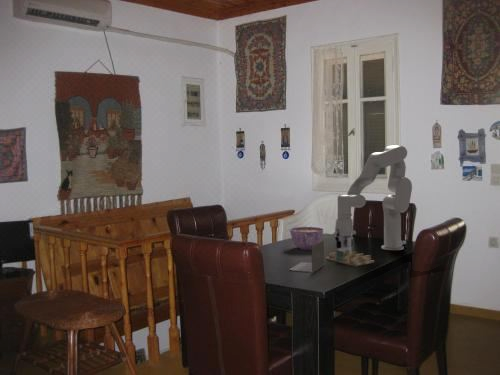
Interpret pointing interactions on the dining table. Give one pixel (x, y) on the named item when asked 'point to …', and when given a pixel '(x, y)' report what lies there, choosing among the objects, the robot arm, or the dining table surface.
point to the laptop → (316, 260)
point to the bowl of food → (306, 237)
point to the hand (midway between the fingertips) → (344, 246)
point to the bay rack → (350, 258)
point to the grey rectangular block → (345, 244)
